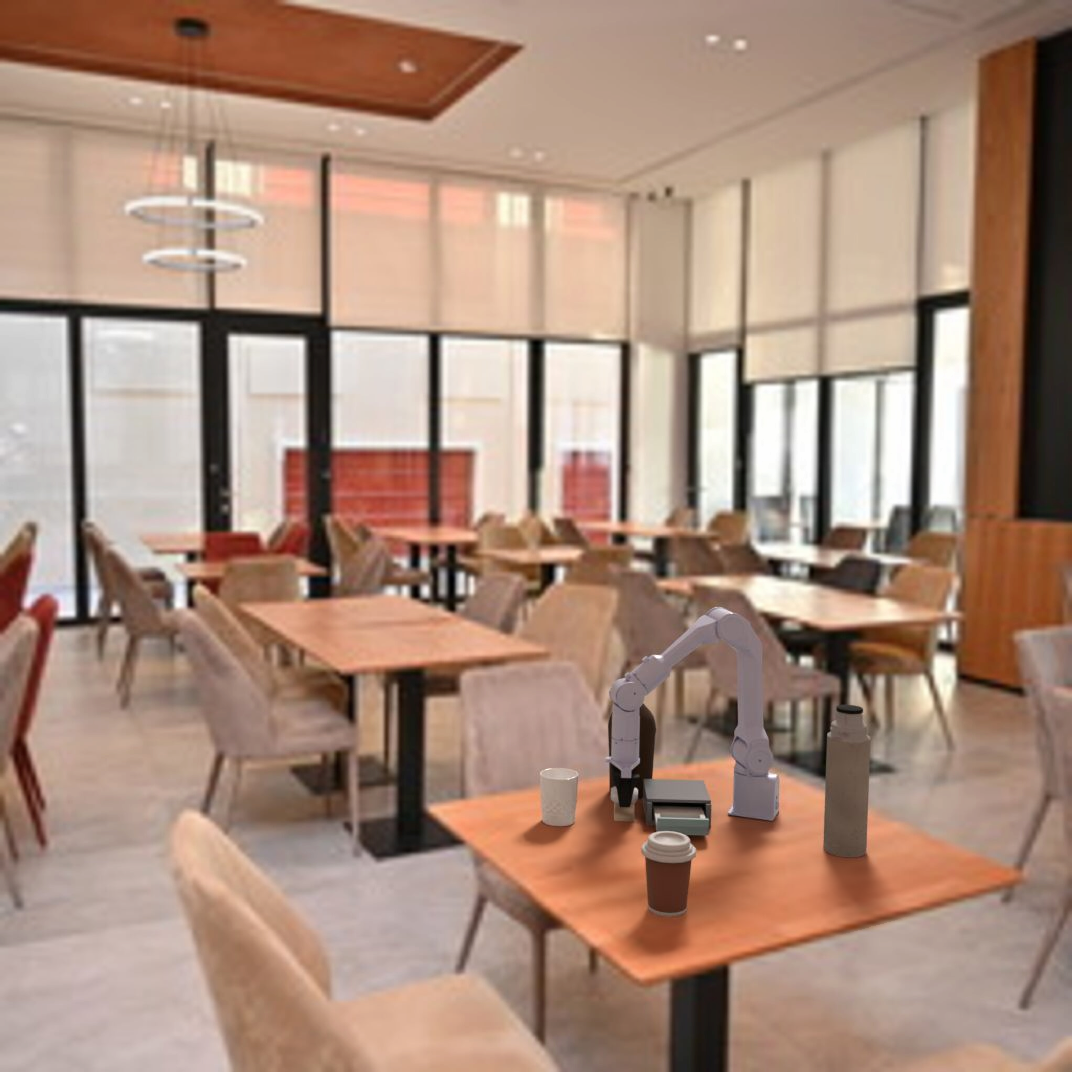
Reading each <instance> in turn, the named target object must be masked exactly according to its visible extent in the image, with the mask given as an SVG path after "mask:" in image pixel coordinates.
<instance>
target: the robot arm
mask: <svg viewBox="0 0 1072 1072" xmlns="http://www.w3.org/2000/svg"><path fill="white" fill-rule="evenodd" d="M718 639H720V640H722V641H723V643H726V644H727V646H729V647H730V648H731V649H733V651H735V652H736V671H737V672H736V677H737V678H736V680H737V725H736V727H735V729H734V731H733V732H734V737H733V740H732V743H731V745H730V754H731V757H732V759H733V760H735V764H734V766H733V784H732V785H733V788H732V789H733V790H732V791H733V792H732V795H733V796H732V797H733V798H732V806H731V807H730V808H729V810H728V811H727V815H729V816H734V817H735V816H736V817H742V818H750V819H755V820H756V819H757V820H763V821H771V822H772V821H774V819H775V818H776V816H777V815H778V813H779V811H780V807H779V806H780V803H779V802H780V775H779V774H778V773H777V774H775V773H772V772H770V770H771V769H772V767H773V764H774V762H775V761H774V754H773V751H772V749H771V747H770V739H769V737H768V735H767V732H766V729H765V727H764V684H763V683H764V681H763V680H764V678H763V677H764V675H763V672H764V671H763V644H762V641H761V640H760V638H759V636H758V635H757V633H756V632H755V630H754V629H753V627H752V626H751V622H750V621H749V620H748V619H746V618H745V617H743V616H742V615H741V614H739V613H736V612H733V611H730V610H728V609H727V608H725V607H721V606H715V607H712V608H711V609H710V610H708V611H707V612H706V614H703V615H701V616H700V617H698V619H697V620H696V621H695V622H694V624H692V625H691V626H690V627H689V628H688V629H687V630H685V632H683V634H682V635H680V637H678V638H677V639H676V640H675V641H674V642H673V643H671V645H670V646H668V647H667V648H666V649H665V650H664V651H663V652H662V653H661V654H651V655H649V656H647V655H645V656H644V657H643V658H641V661H642V662H641V663H640V664H638V666H637V667H635V668H634V669H633V670H632V671H630V672H626V673H625V674H624V677H625V678H624V677H622V678H619V679H617V680H615V681H614V682H613V684H611V688H610V690H608V694H609V695H608V696H609V698H610V700H611V701H612V712H613V714H612V747H611V757H609V756H605V762H606V763H609V762H610V763H611V767H612V769H613V771H614V772H612V778H613V780H614V782H615V785H616V788H617V794H618V801H619V806H620V807H630V805H631V801H632V796H633V792H634V788H635V786H636V783H637V782H638V780H639V777H640V776H639V774H634V773H635V771H636V769H637V767H638V764H639V763H640V758H639V730H640V716H639V709H640V707H641V706H642V704H643V703H644V702H645V698H646V697H647V696H648V695H649V694H651V693H652V692H653V691H654V690H655V689H656V688H658V687H659V686H660V685H661V684H663V682H665V681H666V680H667V679H668V678H670V677H671V672H672V667H674V666H675V665H676V664H677V663H679V662H680V661H682V660H683V659H684V658H686V657H687V656H688V655H689V654H691V653H692V652H694V651H695V650H696V649H697V648H699V647H701V645H716V644H719V640H718Z"/></svg>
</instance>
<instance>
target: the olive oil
mask: <svg viewBox="0 0 1072 1072" xmlns="http://www.w3.org/2000/svg"><path fill="white" fill-rule="evenodd" d="M612 714H613V711H612V712H611V714H610V716H609V719H608V722H607V735H608V736H607V737H608V738H607V739H608V757H611V747H612ZM639 716H640V730H639V758H640V763H639V764H638V767H637V769H636V771H635V773H634V774H639V776H640V777H639V780H638V782H637V783H636V786H635V788H637V789H638V800H639V799H643V779H653V777H654V776H653V775H654V773H653V772H654V760H655V745H656V733H657V723H656V720H655V719H656V718H655V716H654V714H653V713H652V712H651V710H650V709H649V708H648V707H647V705H646V704H644V702H643V704H642V706H641V707H640V709H639ZM608 764H609V765H608V766H609V767H608V768H609V769H608V770H609V771H608V772H609V775H608V776H609V780H608V781H609V793H610V794H611V788H612V787H615V786H616V785H615V782H614V780H613V778H612V772H614V771H613V769H612V767H611V763H610V762H608Z"/></svg>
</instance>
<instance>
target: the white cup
mask: <svg viewBox="0 0 1072 1072" xmlns="http://www.w3.org/2000/svg"><path fill="white" fill-rule="evenodd" d="M539 782H540V785H539V786H540V787H539V788H540V789H539V790H540V808H541V816H542V817H541V819H542V822H543V824H545V825H548V826H552V827H568V826H571V825H572V824H574V823H575V821H576V809H577V802H578V800H577V799H578V787H579V785H578V784H579V772H577V771H576V770H575V769H570V768H563V767H553V768H547V769H543V770H541V771H540V772H539Z"/></svg>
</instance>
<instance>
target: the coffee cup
mask: <svg viewBox="0 0 1072 1072" xmlns="http://www.w3.org/2000/svg"><path fill="white" fill-rule="evenodd" d="M640 852H641V854H642V855H643V857H644V860H645V876H646V877H645V878H646V891H647V895H646V896H647V910H648V911H649V912H650V913H652V914H654V915H657V916H660V917H668V918H672V917H673V918H674V917H679V916H683V915H684V914H686V913H687V908H688V907H687V906H688V899H689V898H688V895H689V888H690V887H689V886H690V878H691V870H692V860H693V859H695V858H696V856H697V848H696V847H695V846H694V845H693V844H692V842H691V839H690V837H689V836H688V835H684V834H682V833H678V832H672V831H659V832H657V831H656V832H652V833H650V834H649V835H648V836H647V840H646V841H645V842H643V843H642V844H641V848H640Z"/></svg>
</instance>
